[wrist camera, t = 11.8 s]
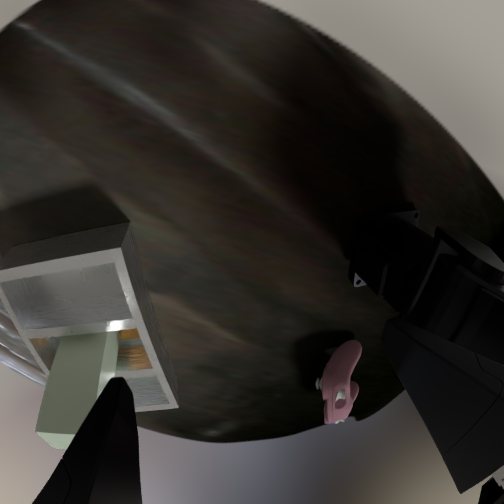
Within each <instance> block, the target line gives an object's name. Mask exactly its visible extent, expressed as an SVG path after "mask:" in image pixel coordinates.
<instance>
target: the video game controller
mask: <svg viewBox="0 0 504 504" xmlns="http://www.w3.org/2000/svg"><path fill="white" fill-rule="evenodd" d="M361 351H362V348H361V344H360V343H359V342H358V341H356V340H349V341H346V342H345V343H343V344H342V345H340V346H339V347H338V348H337V349H336V350H335V352H334V353H333V355H332V356H331V358H330V360H329V362H328V363H326V367H325V368H324V372H323V376H322V378H321V380H320V381H319V378H318V379H317V381H316V387H317V389H319V386H320V388H321V390H322V393H323V400H325V405H324V415H325V423H328V424H334V423H336V424H337V423H338V422H339V421H342V422H344V419H346V418H347V416H348V414H349V412H350V411H351V409H352V406H353V402H354V400H355V399H356V397H357V395H358V391H359V386H358V384H357V383H356V382H353V381H350V377H351V374H352V371H353V369H354V367H355V365H356V363H357V361H358V359H359V358H360V355H361Z"/></svg>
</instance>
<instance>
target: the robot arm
mask: <svg viewBox="0 0 504 504" xmlns="http://www.w3.org/2000/svg"><path fill="white" fill-rule="evenodd" d="M419 218H420V211H419V210H417V209H405V210H396V211H388V212H379V213H371V214H364V215H362V216H361V217H360V218H359V224H358V233H357V242H356V246H355V254H354V262H353V273H352V280H351V283H352V284H353V285H354V286H355V287H360V286H364V285H368V286H369V287H370V288H371V289H372V291H373V292H374V293H375V294H376V295H377V296H378V297H380V298H381V297H383V298H384V299H385V300H386V301H387V302H388V303H389V304H390V305H391V306H392V307H393V308H394V309H395V310H396V311H397V312H398V311H400V313H399V315H398V317H395V318H392V319H389V320H387V321H386V323H385V326H384V330H383V333H382V343H383V345H384V347H385V349H386V351H387V354H388V356H389V358H390V360H391V362H392V365H393V367H394V369H395V371H396V373H397V375H398V377H399V379H400V381H401V382H402V384H403V386H404V387H405V389H406V391H407V392H408V394H409V396H410V398H411V400H412V401H413V403H414V405H415V407H416V409H417V410H418V412H419V414H420V416H421V418H422V420H423V421H424V423H425V425H426V427H427V429H428V431H429V433H430V434H431V436H432V438H433V440H434V442H435V444H436V446H437V448H438V450H439V452H440V454H441V456H442V458H443V460H444V462H445V464H446V466H447V468H448V470H449V472H450V474H451V476H452V478H453V480H454V482H455V485H456V487H457V489H458V491H459V493H460V494H462V493H463V492H465V491H467V490H468V489H470V488H472V487H473V486H475V485H476V484H478V483H479V482H481V481H482V480H484V479H485V478H487V477H488V476H490V475H491V474H492V477H491V478H490V479H489V480H488V481H487V482H486V483H485V484H484V485H483V486H482V489H481V494H480V498H479V502H478V504H504V264H503V262H502V261H501V260H500V259H499V258H498V257H497V256H496V255H495V253H494V252H493V251H492V250H491V249H490V248H489V247H487V246H486V245H484V244H482V243H480V242H479V241H477V240H475V239H474V238H472V237H470V236H468V235H465V234H462V233H459V232H456V231H452V230H449V229H446V228H442V227H439V226H437V228H436V230H435V233H434V234H435V236H434V238H433V237H431V236H430V235H428V234H427V233H425V232H424V231H422V230H420V229H419V228H418V224H419ZM366 219H367V220H366ZM365 220H366V222H365V223H364V221H365ZM357 280H358V281H357ZM138 441H139V440H138V431H137V423H136V415H135V406H134V397H133V393H132V391H131V389H130V387H129V385H128V384H127V382H126V380H125V379H124V378H123V377H112V378H110V380H109V381H108V383H107V384H106V386H105V387H104V389H103V391H102V392H101V394H100V395H99V397H98V398H97V400H96V402H95V403H94V405H93V406H92V408H91V410H90V411H89V413H88V415H87V416H86V418H85V419H84V421H83V423H82V424H81V426H80V428H79V429H78V431H77V433H76V434H75V436H74V438H73V439H72V441H71V443H70V445H69V446H68V448H67V450H66V452H65V453H64V455H63V457H62V458H63V459H61V460H60V462H59V463H58V465H57V467H56V469H55V470H54V472H53V474H52V475H51V477H50V479H49V480H48V482H47V483H46V485H45V486H44V487H43V489H42V490H41V492H40V493H39V494H38V496H37V498H36V499H35V500H34V501H33V503H32V504H142V496H141V483H140V467H139V442H138Z"/></svg>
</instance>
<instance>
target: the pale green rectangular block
mask: <svg viewBox="0 0 504 504" xmlns="http://www.w3.org/2000/svg"><path fill="white" fill-rule="evenodd" d="M119 341H120V333H119V330H117V331H109V332H100V333H90V334H80V335H70V336H62V337H61V340H60V343H59V346H58V349H57V352H56V355H55V358H54V361H53V364H52V367H51V370H50V374H49V377H48V381H47V384H46V388H45V392H44V395H43V399H42V403H41V407H40V412H39V416H38V420H37V425H36V430H35V432H36V433H37V434H38V435H40V437H42V438H43V439H44V440H45V441H46V442H47V443H48V444H50V445H51V446H52V447H53V448H58V449H67V448H68V446H69V445H70V443H71V441H72V439H73V438H74V436H75V434H76V433H77V431H78V429H79V428H80V426H81V424H82V423H83V421H84V419H85V418H86V416H87V415H88V413H89V411H90V410H91V408H92V406H93V405H94V403H95V402H96V400H97V398H98V397H99V395H100V394H101V392H102V391H103V389H104V387H105V386H106V384H107V383H108V381H109V380H110V378H112V377H115V370H116V362H117V355H118V348H119Z"/></svg>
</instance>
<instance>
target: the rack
mask: <svg viewBox="0 0 504 504" xmlns="http://www.w3.org/2000/svg"><path fill="white" fill-rule="evenodd" d="M0 298H1V300H2V302H3V304H4V306H5V308H6V310H7V312H8V314H9V316H10V318H11V320H12V321H13V323H14V325H15V327H16V329H17V330H18V332H19V334H20V335H21V337H22V339H23V340H24V342H25V344H26V345H27V347H28V349H29V350H30V352H31V353H32V355H33V356H34V358H35V359H36V361H37V362H38V364H39V365H40V367H41V368H42V370H43V371H44V373H45V374H46V375H47V377H49V374H50V370H51V367H52V364H53V361H54V358H55V355H56V352H57V349H58V346H59V343H60V340H61V337H62V336H70V335H80V334H90V333H100V332H109V331H117V330H119V333H120V341H119V348H118V355H117V362H116V370H115V377H123V378H124V379H125V380H126V382H127V384H128V385H129V387H130V389H131V391H132V393H133V397H134V406H135V412H140V411H152V410H163V409H172V408H179V402H178V391H177V379H176V373H175V370H174V367H173V365H172V362H171V359H170V357H169V354H168V351H167V348H166V345H165V342H164V340H163V337H162V334H161V331H160V328H159V324H158V321H157V318H156V315H155V312H154V309H153V305H152V302H151V299H150V295H149V292H148V288H147V285H146V281H145V278H144V274H143V270H142V267H141V263H140V259H139V255H138V251H137V247H136V243H135V239H134V234H133V230H132V225H131V222H126V223H121V224H116V225H110V226H105V227H100V228H95V229H90V230H85V231H80V232H75V233H70V234H65V235H61V236H56V237H52V238H47V239H43V240H38V241H34V242H30V243H25V244H21V245H17V246H13V247H12V248H11V249H10V250H9V251H8V252H7V253H6V254H5V255H4V256H3V257H2V258H1V260H0Z"/></svg>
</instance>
